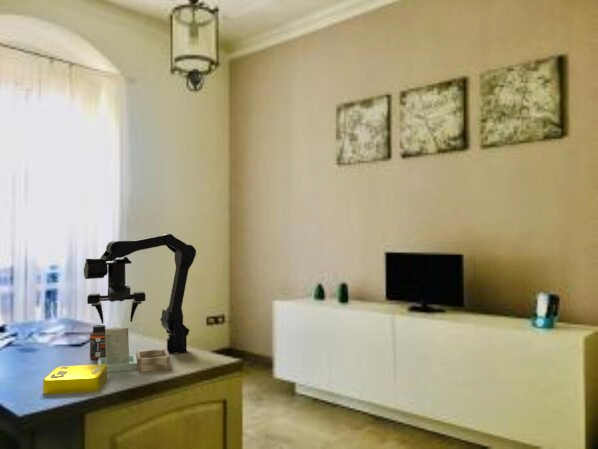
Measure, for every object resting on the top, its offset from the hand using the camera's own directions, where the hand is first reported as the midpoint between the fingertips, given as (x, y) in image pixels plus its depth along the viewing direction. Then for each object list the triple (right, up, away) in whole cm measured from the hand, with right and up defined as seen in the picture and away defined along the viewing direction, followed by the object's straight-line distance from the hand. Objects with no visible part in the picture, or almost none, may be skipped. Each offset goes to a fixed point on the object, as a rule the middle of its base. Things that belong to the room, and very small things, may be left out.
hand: (117, 322), depth 182 cm
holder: (+14, -13, -8) cm, 21 cm away
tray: (+3, -13, -8) cm, 15 cm away
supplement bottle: (-8, -13, +4) cm, 16 cm away
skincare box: (+3, -13, -8) cm, 15 cm away
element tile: (-2, -14, -28) cm, 31 cm away
